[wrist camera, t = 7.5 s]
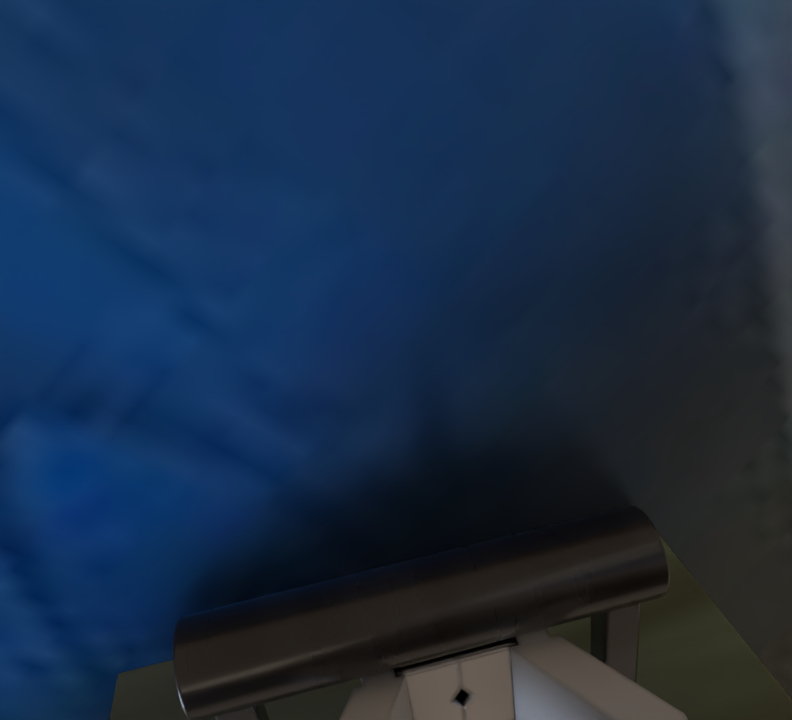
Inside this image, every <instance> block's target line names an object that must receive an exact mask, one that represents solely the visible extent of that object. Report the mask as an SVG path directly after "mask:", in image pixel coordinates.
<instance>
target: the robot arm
mask: <svg viewBox="0 0 792 720" xmlns="http://www.w3.org/2000/svg"><path fill="white" fill-rule="evenodd" d="M360 679H361V685H362V686H361V687H358V688H354V689H353V690H352V693H351V695H350V697H349V699H348V701H347V704H346V706H345V708H344V710H343V712H342V715H341V717H340V719H339V720H688V719H687V717H686V716H685V714H684V713H683V712H681V711H680V710H678V709H677V708H675V707H673V706H672V705H670V704H669V703H667V702H665V701H664V700H662V699H661V698H659V697H658V696H656V695H654V694H653V693H651V692H650V691H648V690H646V689H645V688H643V687H642V686H640V685H638V684H637V683H635V682H634V681H632V680H630V679H629V678H627V677H626V676H624V675H622V674H621V673H619V672H618V671H616V670H615V669H613V668H611V667H610V666H608V665H607V664H605V663H603V662H602V661H600V660H599V659H597V658H595V657H594V656H592V655H591V654H589V653H587V652H586V651H584V650H583V649H581V648H580V647H578V646H576V645H575V644H573V643H572V642H570V641H568V640H567V639H565V638H564V637H562V636H560V635H556V636H550V634H549V632H548V630H547V628H546V629H543V630H539V631H535V632H531V633H528V634H524V635H520V636H516V637H513V638H509V639H505V640H501V641H498V642H494V643H490V644H486V645H483V646H479V647H475V648H471V649H468V650H464V651H460V652H456V653H453V654H449V655H445V656H441V657H438V658H434V659H430V660H426V661H423V662H419V663H415V664H411V665H408V666H404V667H400V668H396V669H393V670H389V671H385V672H381V673H378V674H374V675H370V676H366V677H363V678H360Z"/></svg>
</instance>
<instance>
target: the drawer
mask: <svg viewBox="0 0 792 720" xmlns="http://www.w3.org/2000/svg"><path fill="white" fill-rule="evenodd" d="M546 628H547V630H548V632H549V634H550V636H556V635H560V636H562V637H564V638H565V639H567V640H568V641H570V642H572V643H573V644H575V645H576V646H578V647H580V648H581V649H583V650H584V651H586V652H587V653H589V654H591V655H592V656H594V657H595V658H597V659H599V660H600V661H602V662H603V663H605V664H607V665H608V666H610V667H611V668H613V669H615V670H616V671H618V672H619V673H621V674H622V675H624V676H626V677H627V678H629V679H630V680H632V681H634V682H635V683H637V684H638V685H640V686H642V687H643V688H645V689H646V690H648V691H650V692H651V693H653V694H654V695H656V696H658V697H659V698H661V699H662V700H664V701H665V702H667V703H669V704H670V705H672V706H673V707H675V708H677V709H678V710H680V711H681V712H683V713H684V714H685V716H686V717H687V719H688V720H792V700H791V698H790V697H789V696H788V695H787V693H786V692H785V691H784V690H783V688H782V687H781V686H780V685H779V683H778V682H777V681H776V680H775V678H774V677H773V676H772V675H771V673H770V672H769V671H768V670H767V668H766V667H765V666H764V665H763V664H762V662H761V661H760V660H759V659H758V657H757V656H756V655H755V654H754V652H753V651H752V650H751V649H750V647H749V646H748V645H747V644H746V642H745V641H744V640H743V639H742V637H741V636H740V635H739V634H738V632H737V631H736V630H735V629H734V627H733V626H732V625H731V624H730V622H729V621H728V620H727V619H726V618H725V616H724V615H723V614H722V613H721V611H720V610H719V609H718V608H717V606H716V605H715V604H714V603H713V601H712V600H711V599H710V598H709V596H708V595H707V594H706V593H705V591H704V590H703V589H702V588H701V586H700V585H699V584H698V583H697V581H696V580H695V579H694V578H693V577H692V575H691V574H690V573H689V572H688V570H687V569H686V568H685V567H684V565H683V564H682V563H681V562H680V560H679V559H678V558H677V557H676V555H675V554H674V553H673V552H672V550H671V549H670V548H669V547H668V545H667V544H666V543H665V542H664V540H663V539H662V538H661V537H660V536H659V534H658V532H657V530H656V528H655V527H654V525H653V523H652V522H651V520H650V519H649V518H648V516H647V515H646V514H645V513H644V512H643V511H642V510H641V509H639V508H638V507H635V506H630V505H629V506H624V507H620V508H616V509H612V510H608V511H604V512H600V513H596V514H592V515H588V516H584V517H580V518H576V519H572V520H568V521H564V522H560V523H556V524H551V525H547V526H543V527H539V528H535V529H531V530H527V531H523V532H519V533H515V534H511V535H507V536H503V537H499V538H495V539H491V540H487V541H483V542H479V543H475V544H471V545H467V546H463V547H459V548H455V549H451V550H447V551H443V552H439V553H435V554H431V555H427V556H423V557H419V558H415V559H411V560H407V561H403V562H399V563H394V564H390V565H386V566H382V567H378V568H374V569H370V570H366V571H362V572H358V573H354V574H350V575H346V576H342V577H338V578H334V579H330V580H326V581H322V582H318V583H314V584H310V585H306V586H302V587H298V588H294V589H290V590H286V591H282V592H278V593H274V594H270V595H266V596H262V597H258V598H254V599H250V600H246V601H242V602H238V603H233V604H229V605H225V606H221V607H217V608H213V609H209V610H205V611H201V612H197V613H193V614H189V615H185V616H183V617H181V618H180V619H179V620H178V621H177V623H176V626H175V630H174V636H173V648H172V652H173V660H169V661H165V662H161V663H157V664H153V665H150V666H146V667H142V668H138V669H134V670H130V671H126V672H122V673H119V674H118V677H117V682H116V687H115V693H114V698H113V703H112V709H111V714H110V719H109V720H339V719H340V717H341V715H342V712H343V710H344V708H345V706H346V704H347V701H348V699H349V697H350V695H351V693H352V690H353V689H354V688H358V687H361V686H362V685H361V679H360V678H363V677H366V676H370V675H374V674H378V673H381V672H385V671H389V670H393V669H396V668H400V667H404V666H408V665H411V664H415V663H419V662H423V661H426V660H430V659H434V658H438V657H441V656H445V655H449V654H453V653H456V652H460V651H464V650H468V649H471V648H475V647H479V646H483V645H486V644H490V643H494V642H498V641H501V640H505V639H509V638H513V637H516V636H520V635H524V634H528V633H531V632H535V631H539V630H543V629H546Z"/></svg>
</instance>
